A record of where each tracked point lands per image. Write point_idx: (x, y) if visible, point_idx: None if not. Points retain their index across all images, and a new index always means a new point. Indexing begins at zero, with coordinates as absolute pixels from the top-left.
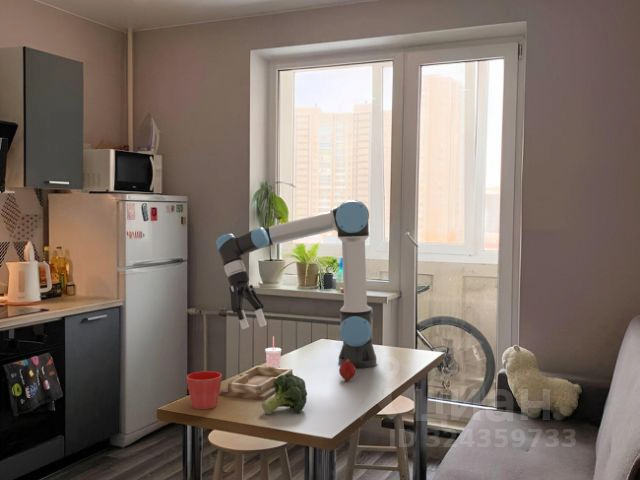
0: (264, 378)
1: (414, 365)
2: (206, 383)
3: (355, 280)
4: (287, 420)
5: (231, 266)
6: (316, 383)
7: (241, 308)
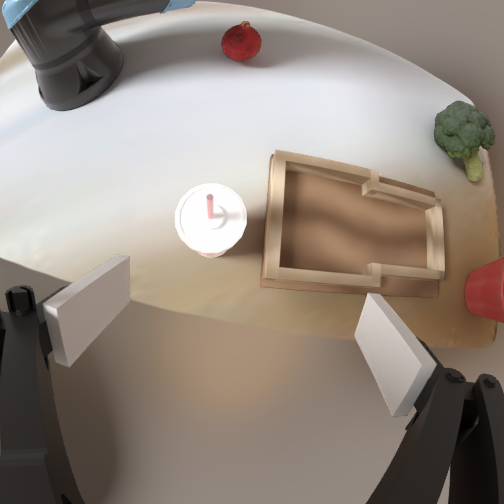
0: (318, 230)
1: None
2: None
3: None
4: None
5: None
6: (282, 107)
7: (451, 373)
